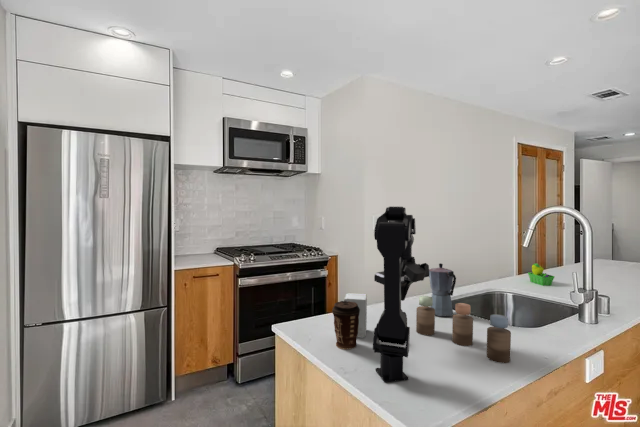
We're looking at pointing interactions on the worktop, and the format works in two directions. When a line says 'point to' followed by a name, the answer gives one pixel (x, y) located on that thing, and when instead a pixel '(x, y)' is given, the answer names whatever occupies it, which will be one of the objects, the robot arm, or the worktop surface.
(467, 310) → the terracotta button
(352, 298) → the supplement box
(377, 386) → the worktop surface
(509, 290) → the worktop surface
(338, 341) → the coffee cup
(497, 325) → the slate-blue button
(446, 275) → the moka pot
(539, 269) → the fruit basket
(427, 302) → the sage button
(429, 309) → the button stands
